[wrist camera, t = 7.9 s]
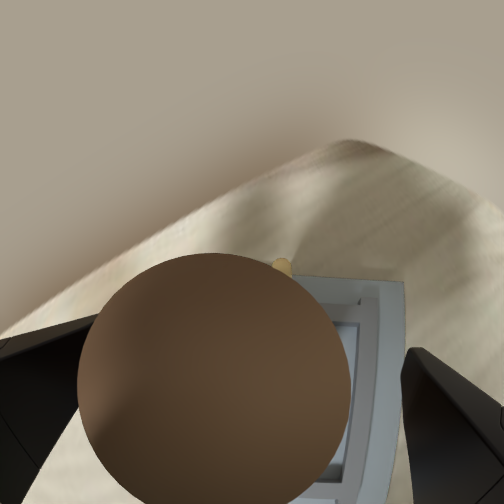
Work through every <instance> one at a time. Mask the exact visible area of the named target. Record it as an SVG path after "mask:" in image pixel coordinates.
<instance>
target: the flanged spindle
mask: <svg viewBox="0 0 504 504" xmlns="http://www.w3.org/2000/svg"><path fill="white" fill-rule="evenodd" d="M77 396H78V404H79V411H80V415H81V419H82V423H83V427H84V430H85V432H86V435H87V437H88V440H89V442H90V444H91V446H92V448H93V450H94V452H95V454H96V455H97V457H98V459H99V460H100V462H101V463H102V464H103V466H104V467H105V469H106V470H107V471H108V472H109V473H110V475H111V476H112V477H113V478H114V479H115V480H116V481H117V482H118V483H119V484H120V485H121V486H122V487H123V488H124V489H126V490H127V491H128V492H129V493H130V494H132V495H133V496H134V497H136V498H137V499H139V500H140V501H142V502H144V503H145V504H288V503H289V502H291V501H293V500H294V499H296V498H297V497H298V496H299V495H301V494H302V493H303V492H304V491H306V490H307V489H308V488H309V487H310V486H311V485H312V484H313V483H314V482H315V481H316V480H317V479H318V478H319V477H320V476H321V474H322V473H323V472H324V471H325V469H326V468H327V466H328V465H329V463H330V462H331V460H332V459H333V457H334V456H335V454H336V451H337V449H338V447H339V445H340V443H341V441H342V439H343V436H344V432H345V429H346V426H347V422H348V418H349V411H350V404H351V377H350V371H349V365H348V359H347V356H346V353H345V350H344V347H343V343H342V341H341V339H340V336H339V334H338V332H337V330H336V328H335V326H334V324H333V322H332V321H331V319H330V318H329V316H328V315H327V313H326V312H325V310H324V309H323V307H322V306H321V305H320V304H319V303H318V302H317V301H316V299H315V298H314V297H313V296H312V295H311V294H310V293H309V292H308V291H307V290H306V289H304V288H303V287H302V286H301V285H300V284H299V283H298V282H296V281H295V280H293V279H292V278H290V277H289V276H287V275H286V274H284V273H283V272H281V271H279V270H277V269H275V268H273V267H271V266H269V265H267V264H265V263H262V262H259V261H256V260H253V259H250V258H246V257H242V256H237V255H232V254H220V253H204V254H194V255H187V256H182V257H178V258H175V259H171V260H168V261H165V262H163V263H160V264H158V265H155V266H153V267H151V268H149V269H147V270H146V271H144V272H142V273H140V274H139V275H137V276H136V277H134V278H133V279H132V280H130V281H129V282H127V283H126V284H125V285H124V286H123V287H122V288H121V289H120V290H118V291H117V292H116V293H115V294H114V295H113V296H112V298H111V299H110V300H109V301H108V302H107V303H106V305H105V306H104V307H103V309H102V310H101V312H100V313H99V315H98V316H97V318H96V319H95V321H94V323H93V325H92V327H91V329H90V331H89V333H88V335H87V338H86V341H85V343H84V346H83V349H82V353H81V357H80V362H79V369H78V377H77Z"/></svg>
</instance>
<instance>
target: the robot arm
mask: <svg viewBox="0 0 504 504" xmlns="http://www.w3.org/2000/svg"><path fill="white" fill-rule="evenodd" d="M98 315H99V313H98V314H95V315H91V316H88V317H84V318H80V319H77V320H73V321H69V322H66V323H62V324H58V325H54V326H51V327H47V328H43V329H40V330H36V331H32V332H28V333H24V334H21V335H17V336H13V337H12V338H11V337H9V338H5V339H1V340H0V503H1V504H21V503H22V502H23V500H24V498H25V496H26V494H27V492H28V491H29V489H30V487H31V485H32V483H33V482H34V480H35V478H36V476H37V475H38V473H39V471H40V469H41V467H42V466H43V464H44V462H45V461H46V459H47V457H48V456H49V454H50V452H51V451H52V449H53V447H54V446H55V444H56V442H57V441H58V439H59V438H60V436H61V434H62V433H63V431H64V429H65V428H66V426H67V425H68V423H69V422H70V420H71V418H72V417H73V415H74V414H75V412H76V411H77V409H78V407H79V404H78V396H77V377H78V369H79V362H80V357H81V353H82V349H83V346H84V343H85V341H86V338H87V335H88V333H89V331H90V329H91V327H92V325H93V323H94V321H95V319H96V318H97V316H98ZM400 381H401V394H402V408H403V423H404V430H405V436H406V442H407V449H408V456H409V463H410V471H411V480H412V489H413V500H414V504H504V406H502V407H501V404H500V403H498V402H497V401H496V400H494V399H493V398H491V397H490V396H489V395H487V394H486V393H485V392H483V391H482V390H481V389H479V388H478V387H477V386H475V385H474V384H472V383H471V382H470V381H468V380H467V379H466V378H464V377H463V376H461V375H460V374H459V373H457V372H456V371H455V370H453V369H452V368H450V367H449V366H448V365H446V364H445V363H443V362H442V361H441V360H439V359H438V358H436V357H435V356H434V355H432V354H431V353H429V352H428V351H427V350H425V349H424V348H421V347H412V348H409V349H408V351H407V354H406V357H405V360H404V363H403V366H402V369H401V374H400Z"/></svg>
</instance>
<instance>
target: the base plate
mask: <svg viewBox="0 0 504 504" xmlns="http://www.w3.org/2000/svg"><path fill="white" fill-rule="evenodd" d="M272 267H273V268H275V269H277V270H279V271H281V272H283V273H284V274H286V275H287V276H289V277H290V278H292V279H293V280H295V281H296V282H298V283H299V284H300V285H301V286H302V287H303V288H304V289H306V290H307V291H308V292H309V293H310V294H311V295H312V296H313V297H314V298H315V299H316V301H317V302H318V303H319V304H320V305H321V306H322V307H323V309H324V310H325V312H326V313H327V315H328V316H329V318H330V319H331V321H332V322H333V324H334V326H335V328H336V330H337V332H338V334H339V336H340V339H341V341H342V343H343V347H344V350H345V353H346V356H347V359H348V365H349V371H350V377H351V404H350V411H349V418H348V422H347V426H346V429H345V432H344V436H343V439H342V441H341V443H340V445H339V447H338V449H337V451H336V454H335V456H334V457H333V459H332V460H331V462H330V463H329V465H328V466H327V468H326V469H325V471H324V472H323V473H322V474H321V476H320V477H319V478H318V479H317V480H316V481H315V482H314V483H313V484H312V485H311V486H310V487H309V488H308V489H307V490H306V491H304V492H303V493H302V494H301V495H299V496H298V497H297V498H296V499H294V500H293V501H291V502H289V503H288V504H385V502H386V498H387V494H388V489H389V484H390V480H391V474H392V469H393V464H394V458H395V451H396V445H397V438H398V430H399V422H400V413H401V403H402V394H401V381H400V374H401V369H402V366H403V363H404V352H405V305H404V282H395V281H377V280H361V279H345V278H330V277H315V276H301V275H292V272H291V263H290V262H289V261H288V260H287V259H285V258H279V259H276V260H275V261H274V262H273V264H272Z"/></svg>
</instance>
